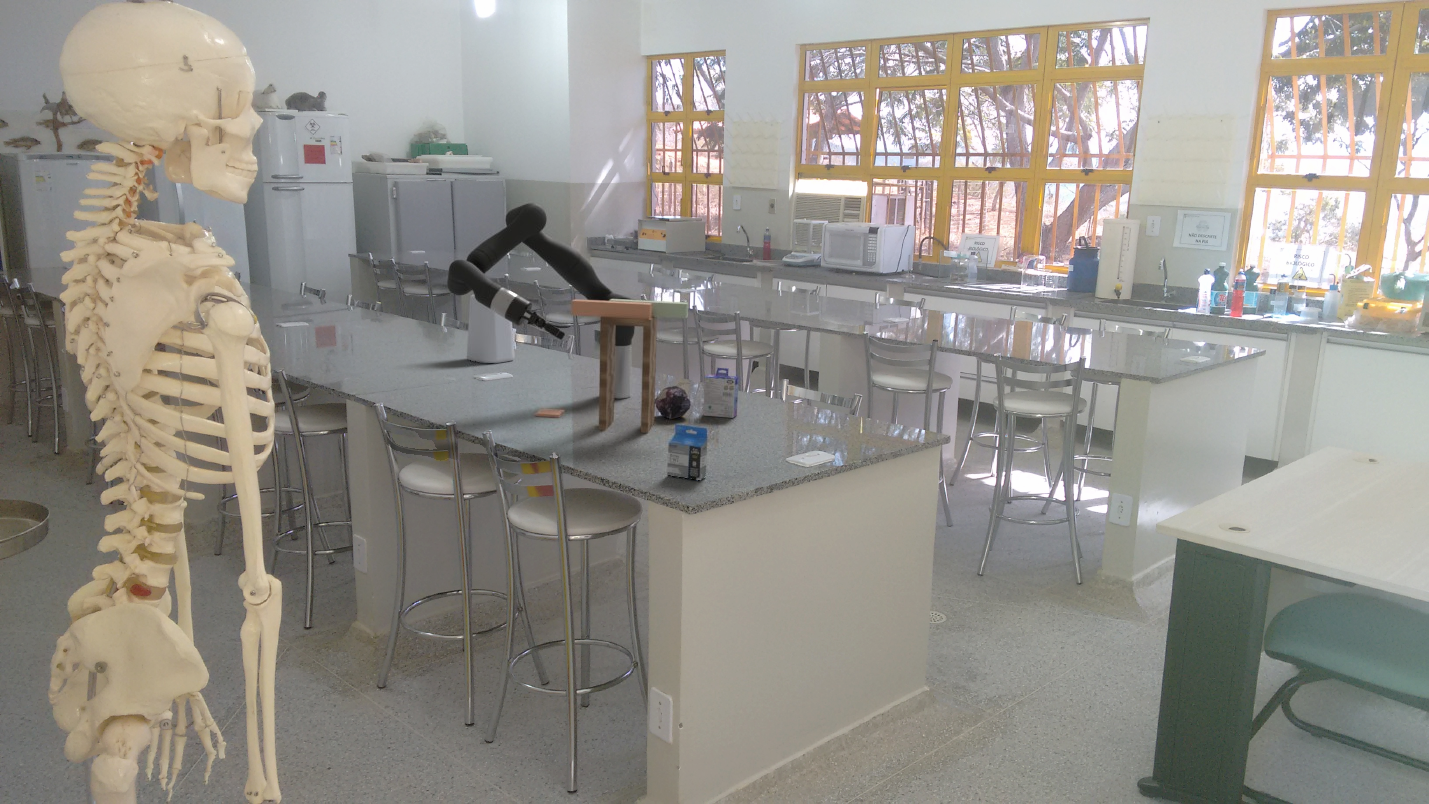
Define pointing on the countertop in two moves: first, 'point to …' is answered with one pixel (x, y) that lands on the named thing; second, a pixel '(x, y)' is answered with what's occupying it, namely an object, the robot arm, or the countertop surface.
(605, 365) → the wooden stand
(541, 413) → the tile
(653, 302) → the sage rod
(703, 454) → the label tape box
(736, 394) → the ink cartridge box
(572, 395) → the countertop surface
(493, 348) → the plastic bottle
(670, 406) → the mineral specimen
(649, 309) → the terracotta rod
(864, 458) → the countertop surface
